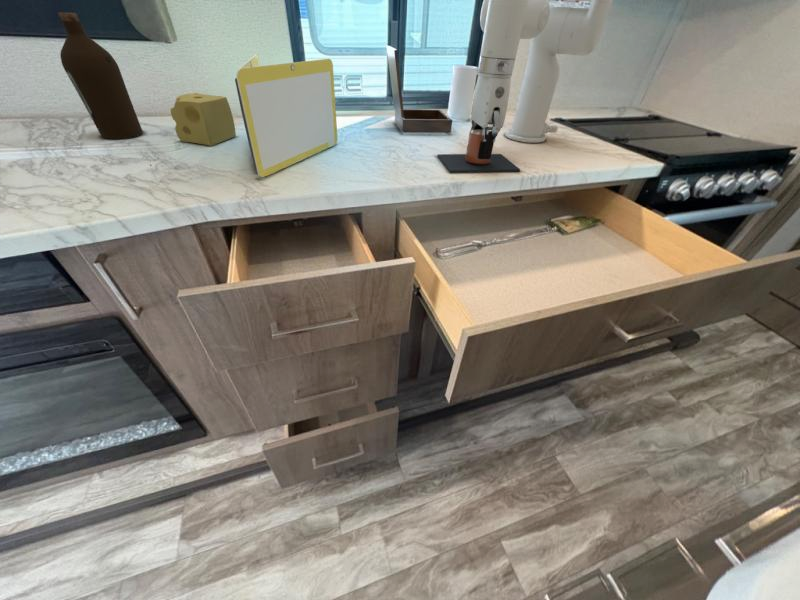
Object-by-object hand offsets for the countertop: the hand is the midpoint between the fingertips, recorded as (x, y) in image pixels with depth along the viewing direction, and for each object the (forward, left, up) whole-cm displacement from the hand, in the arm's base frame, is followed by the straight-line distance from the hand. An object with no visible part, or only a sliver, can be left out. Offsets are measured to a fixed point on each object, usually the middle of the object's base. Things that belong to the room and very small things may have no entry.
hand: (478, 153), depth 84 cm
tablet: (+45, -9, -3) cm, 46 cm away
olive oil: (+92, -26, -3) cm, 96 cm away
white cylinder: (-10, -48, -3) cm, 49 cm away
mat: (0, 0, -3) cm, 3 cm away
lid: (+16, -34, +10) cm, 39 cm away
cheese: (+69, -22, -3) cm, 72 cm away
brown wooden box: (+7, -34, -3) cm, 35 cm away
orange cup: (0, 0, -2) cm, 2 cm away
